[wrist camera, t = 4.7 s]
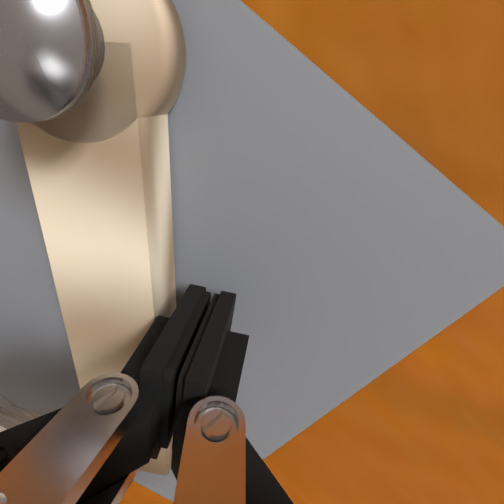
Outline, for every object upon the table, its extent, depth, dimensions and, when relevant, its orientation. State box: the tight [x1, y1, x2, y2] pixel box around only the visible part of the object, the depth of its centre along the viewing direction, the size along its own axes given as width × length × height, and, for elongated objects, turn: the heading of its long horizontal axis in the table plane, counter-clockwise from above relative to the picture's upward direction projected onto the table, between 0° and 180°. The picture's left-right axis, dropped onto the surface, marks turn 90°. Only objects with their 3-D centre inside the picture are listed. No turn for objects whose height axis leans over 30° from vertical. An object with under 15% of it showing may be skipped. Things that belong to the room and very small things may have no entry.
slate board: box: [0, 0, 504, 502], centre depth 14 cm, size 20×22×1 cm
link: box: [0, 0, 186, 476], centre depth 10 cm, size 18×4×4 cm, turn 176°
